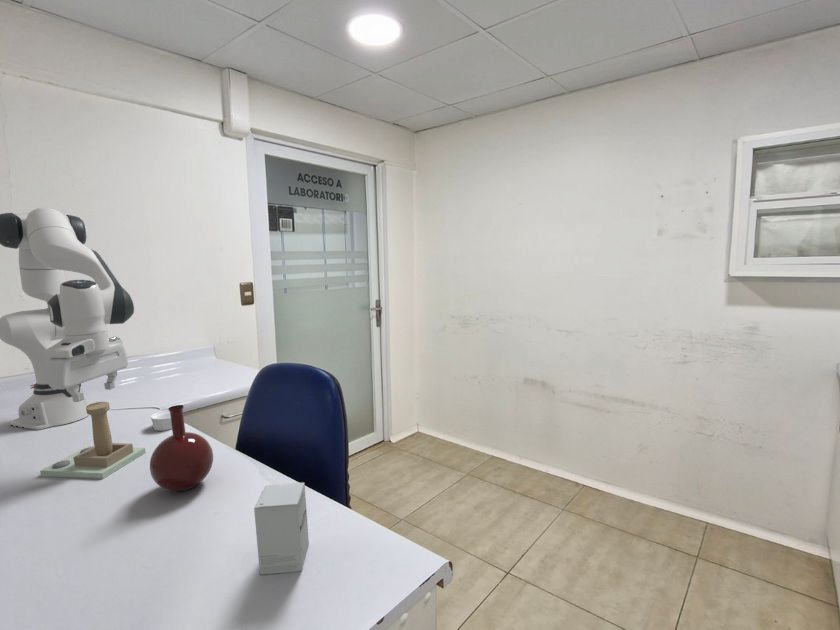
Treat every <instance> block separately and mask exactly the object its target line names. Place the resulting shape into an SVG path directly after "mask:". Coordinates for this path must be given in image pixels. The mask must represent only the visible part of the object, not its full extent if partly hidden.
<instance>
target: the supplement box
mask: <svg viewBox="0 0 840 630" xmlns="http://www.w3.org/2000/svg"><path fill="white" fill-rule="evenodd" d="M306 497H307V496H306V485H305V482H293V483H283V484H281V483H280V484H271V485H269V484H267V485H265V486H264V487H263V490H262V492H261V494H260V496H259V498H258V500H257V502H256V504H255V505H254V507H253V511H254V521H255V523H254V524H255V535H256V542H257V554H258V555H257V557H258V566H259V567H258V568H259V575H272V574H273V575H274V574H284V573H285V574H286V573H297V572H301V571H302V570H303V566H304V562H305V558H306V555H307V550H308V547H309V544H310V543H309V542H310V541H309V540H310V539H309V528H308V527H309V526H308V512H307V511H308V510H307V509H308V508H307V500H306V499H307V498H306Z"/></svg>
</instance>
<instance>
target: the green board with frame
mask: <svg viewBox="0 0 840 630" xmlns="http://www.w3.org/2000/svg"><path fill="white" fill-rule="evenodd" d="M112 452H113V453H111V454H109V455H108V456H98V455H97V454H96V451H95V446H94V445H88V446H86V447H84V448H82V449H80V450H78V451H76V452H74V453H72V454H70V455H68V456H66V457H64V458H62V459H59V460H58V461H56V462H54V463H52V464H50V465H48V466H46V467H44V468H43V469H41V470H39V472H40V476H41V477H51V478H52V477H57V478H74V479H75V478H76V479H78V478H79V479H82V478H83V479H102V480H104V479H105V478H107V477H109V476H111V475H112V474H114V473H115V472H117V471H118V470H120V469H122V468H123V467H125V466H127V465H129V464H131V461H132V462H134V461H135V460H136V459H138V458H140V457H141V456H143V455H145V454H146V453H147V452H146V447H135V446H134V445H133V443H126V442H125V443H119V442H116V443H115V442H112Z"/></svg>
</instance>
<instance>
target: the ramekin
mask: <svg viewBox="0 0 840 630" xmlns="http://www.w3.org/2000/svg"><path fill="white" fill-rule="evenodd" d="M150 419H151V422H152V427H153V429H154V430H155V431H159V432H160V431H161V432H162V431H163V432H164V431H169V430H172V424H171V416H170V411H169V409H165V410H160V411H158V412H155V413H153V414H151V415H150Z"/></svg>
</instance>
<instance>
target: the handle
mask: <svg viewBox="0 0 840 630" xmlns="http://www.w3.org/2000/svg"><path fill="white" fill-rule="evenodd" d="M86 411H87V414H89V415H90V417H91V424H92V427H91V428H92V438H93V446H95V451H96V454H97V455H98V456H108V455H109V454H111V453H113V452H112V443H113V438H112V434H111V433H112V432H111V429H110V423H109V419H108V414H107V413H108V411H110V403H109V401H99V402H97V401H96V402H94V403H90V404H88V405H87V407H86Z"/></svg>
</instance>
